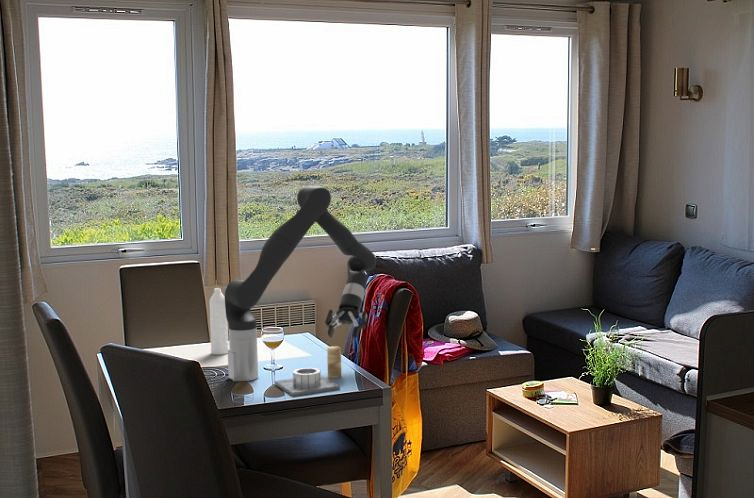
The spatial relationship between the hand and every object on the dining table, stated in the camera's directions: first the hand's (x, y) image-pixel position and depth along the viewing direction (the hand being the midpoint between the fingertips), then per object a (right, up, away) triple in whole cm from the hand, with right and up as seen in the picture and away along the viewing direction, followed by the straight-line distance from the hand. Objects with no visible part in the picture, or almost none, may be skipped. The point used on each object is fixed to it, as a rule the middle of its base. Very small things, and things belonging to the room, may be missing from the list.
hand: (341, 337), depth 299 cm
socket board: (-11, -14, -18) cm, 26 cm away
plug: (-2, -13, -6) cm, 14 cm away
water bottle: (-47, -9, +31) cm, 57 cm away
